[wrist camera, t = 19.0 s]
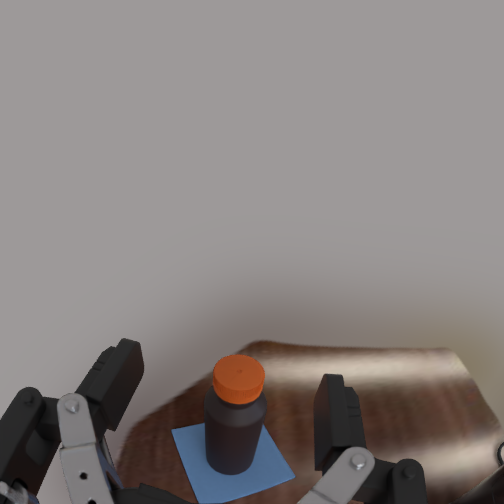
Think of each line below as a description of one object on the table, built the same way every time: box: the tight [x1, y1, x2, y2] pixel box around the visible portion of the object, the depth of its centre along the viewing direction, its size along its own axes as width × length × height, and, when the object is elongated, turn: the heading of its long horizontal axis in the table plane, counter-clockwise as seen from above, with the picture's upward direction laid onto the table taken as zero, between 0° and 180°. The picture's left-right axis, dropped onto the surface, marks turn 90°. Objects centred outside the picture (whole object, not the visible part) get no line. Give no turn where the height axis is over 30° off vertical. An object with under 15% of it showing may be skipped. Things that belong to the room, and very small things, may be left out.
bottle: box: [204, 355, 267, 475], centre depth 31 cm, size 7×7×20 cm
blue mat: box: [171, 423, 296, 504], centre depth 35 cm, size 14×14×1 cm
